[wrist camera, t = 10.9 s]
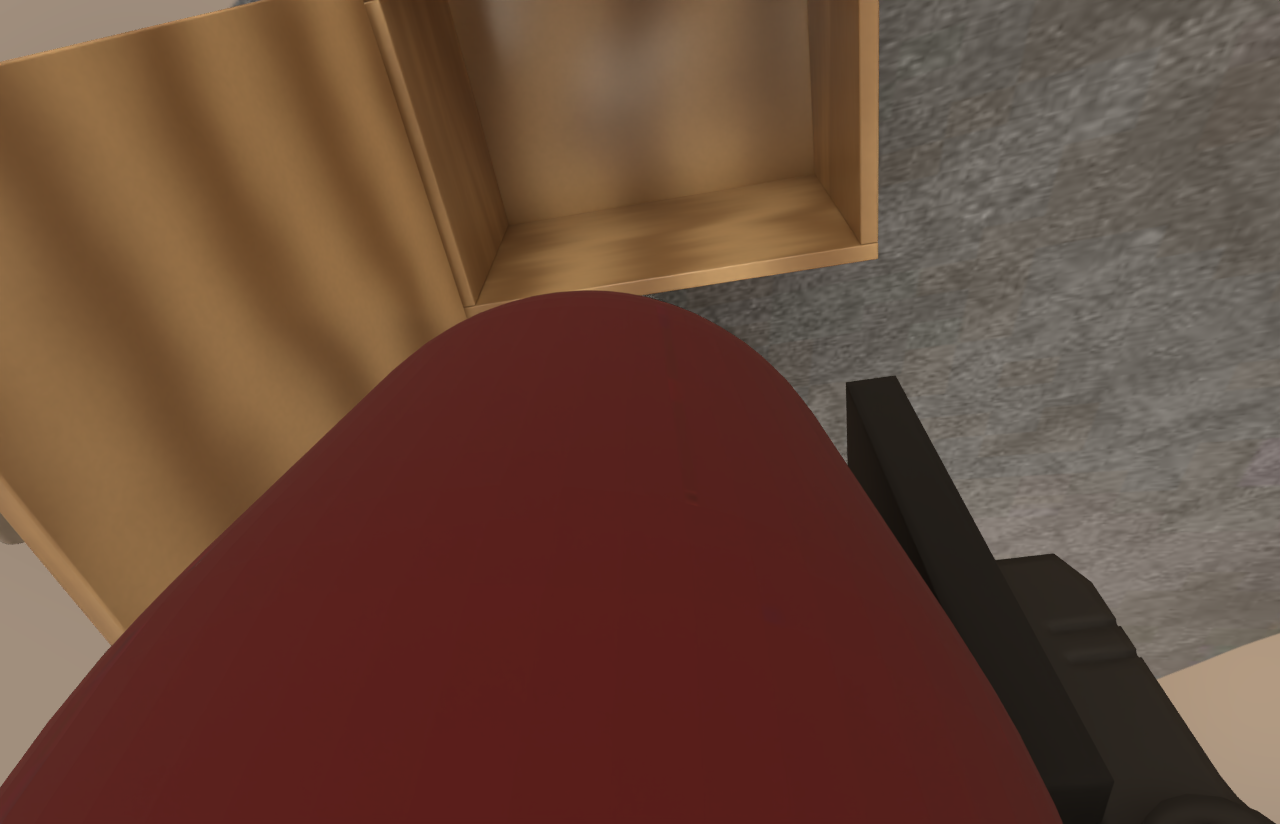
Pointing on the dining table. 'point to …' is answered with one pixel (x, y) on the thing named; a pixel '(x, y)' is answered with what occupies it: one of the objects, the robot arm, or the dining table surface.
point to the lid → (196, 280)
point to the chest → (638, 138)
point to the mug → (547, 615)
